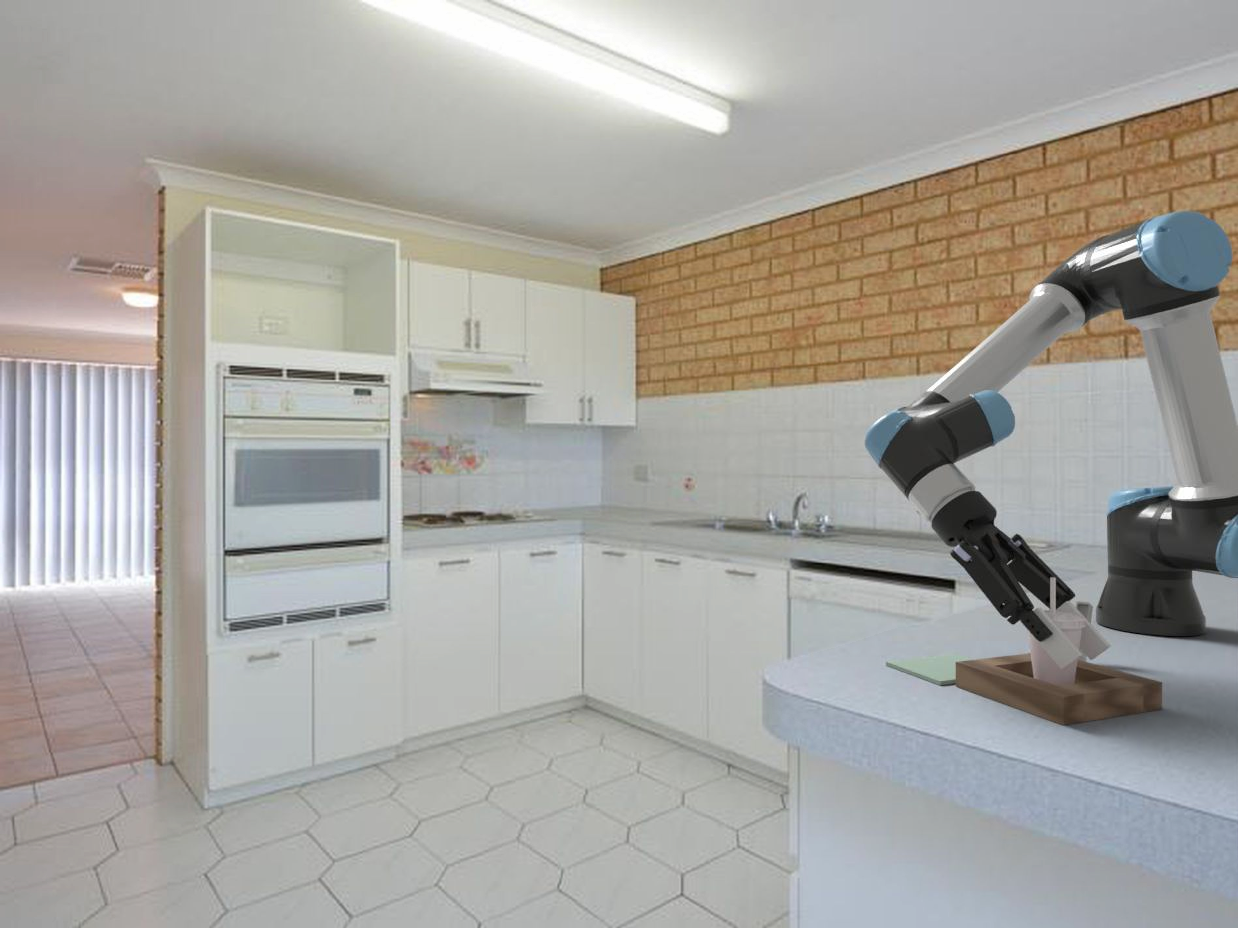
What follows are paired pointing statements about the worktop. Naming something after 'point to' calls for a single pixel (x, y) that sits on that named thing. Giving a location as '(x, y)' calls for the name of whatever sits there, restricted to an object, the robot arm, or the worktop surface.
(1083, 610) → the lighter
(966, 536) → the robot arm
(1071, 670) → the smoothie
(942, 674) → the mat
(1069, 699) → the caddy
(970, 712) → the worktop surface
